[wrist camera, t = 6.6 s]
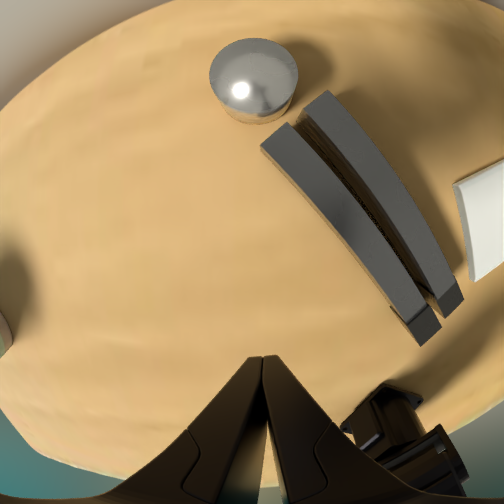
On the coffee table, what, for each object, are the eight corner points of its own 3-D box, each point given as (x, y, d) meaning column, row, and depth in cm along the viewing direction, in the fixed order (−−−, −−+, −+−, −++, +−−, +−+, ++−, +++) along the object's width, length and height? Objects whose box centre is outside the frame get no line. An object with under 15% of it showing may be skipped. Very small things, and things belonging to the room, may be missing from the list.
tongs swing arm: (201, 95, 15) (187, 78, 12) (257, 49, 14) (255, 25, 11) (403, 326, 18) (421, 348, 15) (446, 285, 17) (469, 301, 14)
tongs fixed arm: (294, 122, 15) (301, 109, 12) (318, 104, 15) (329, 88, 12) (424, 301, 18) (445, 319, 15) (442, 284, 18) (464, 300, 15)
